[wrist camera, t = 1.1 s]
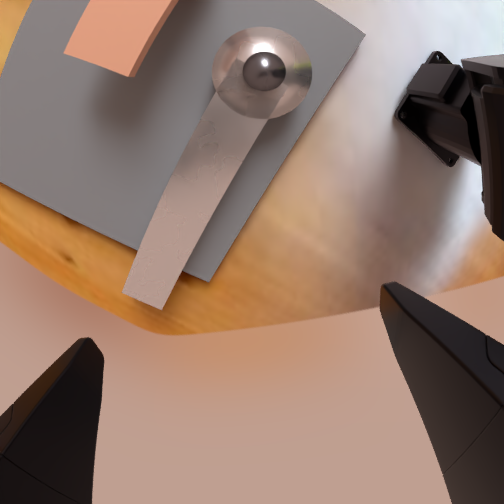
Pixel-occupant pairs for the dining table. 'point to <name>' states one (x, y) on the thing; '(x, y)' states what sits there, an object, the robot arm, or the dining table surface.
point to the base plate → (147, 115)
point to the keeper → (118, 32)
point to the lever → (218, 150)
